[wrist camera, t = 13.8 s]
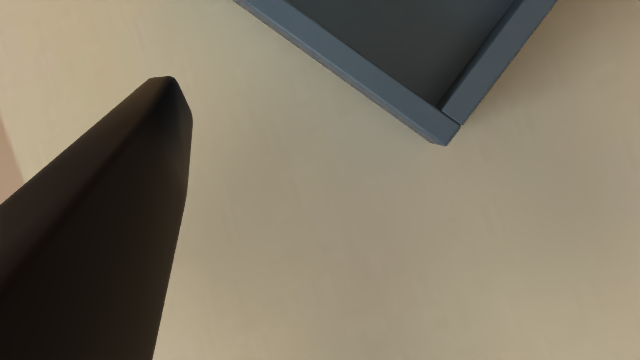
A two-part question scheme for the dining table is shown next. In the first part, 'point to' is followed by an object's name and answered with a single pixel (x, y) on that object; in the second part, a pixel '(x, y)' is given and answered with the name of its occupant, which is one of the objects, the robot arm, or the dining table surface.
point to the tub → (411, 50)
